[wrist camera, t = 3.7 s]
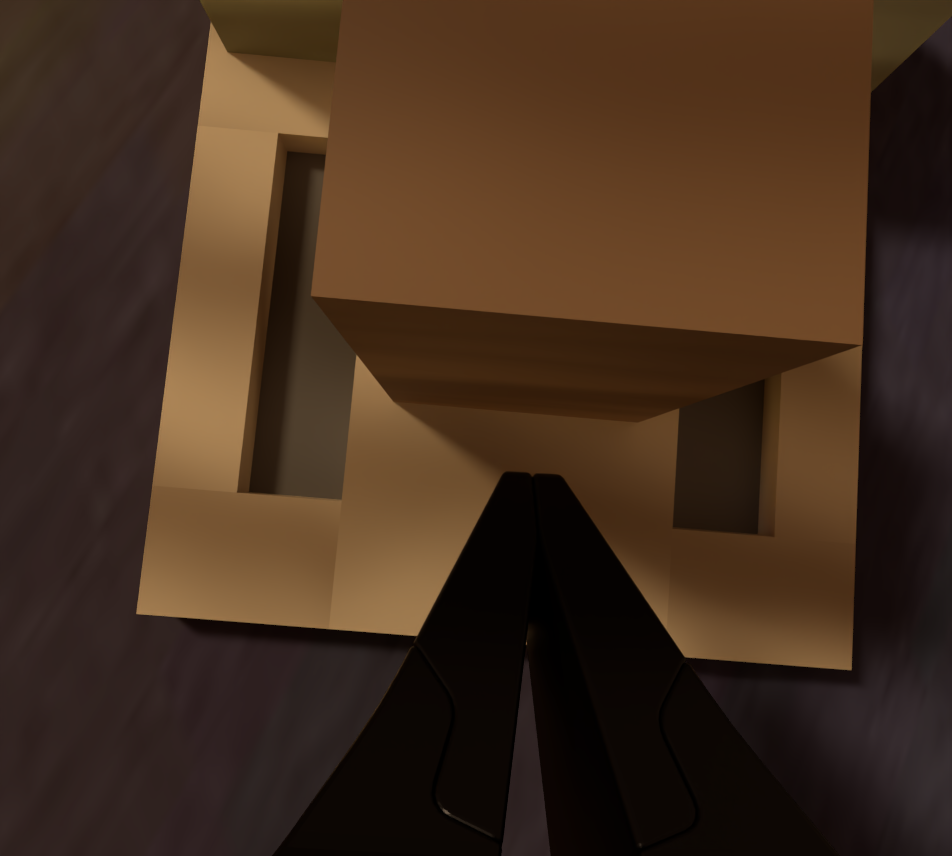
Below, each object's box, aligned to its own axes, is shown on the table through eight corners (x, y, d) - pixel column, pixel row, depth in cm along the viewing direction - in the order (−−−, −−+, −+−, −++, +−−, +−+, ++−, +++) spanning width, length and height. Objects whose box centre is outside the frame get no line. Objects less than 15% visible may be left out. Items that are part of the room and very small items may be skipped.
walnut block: (637, 422, 16) (862, 345, 7) (393, 401, 16) (310, 295, 7) (650, 225, 17) (876, -81, 8) (412, 203, 16) (357, -133, 7)
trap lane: (823, 657, 17) (984, 732, 12) (159, 604, 17) (24, 658, 11) (848, -14, 19) (998, -207, 13) (243, -75, 18) (158, -297, 13)
